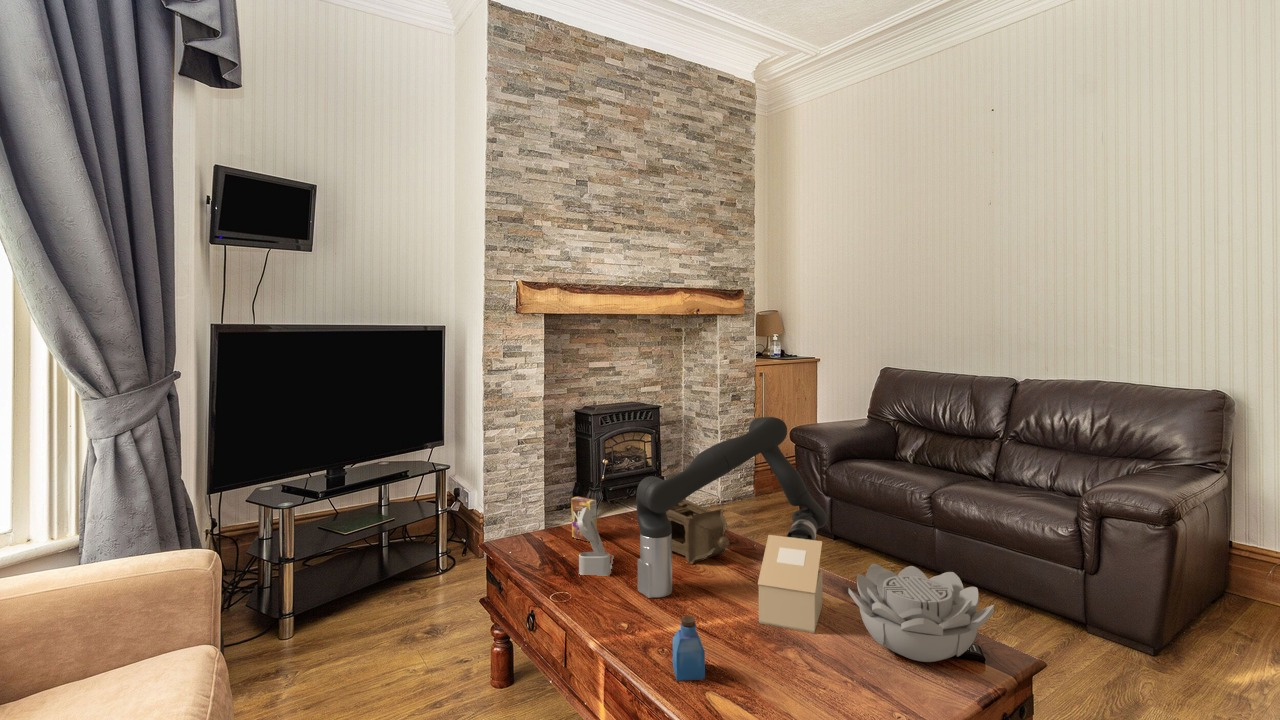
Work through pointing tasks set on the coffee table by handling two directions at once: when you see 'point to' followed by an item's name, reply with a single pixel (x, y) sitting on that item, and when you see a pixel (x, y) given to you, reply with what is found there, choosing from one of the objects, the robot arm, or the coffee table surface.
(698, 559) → the brown lantern
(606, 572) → the phone holder
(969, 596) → the decorative bowl
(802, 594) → the cardboard carton
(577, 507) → the candy box
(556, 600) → the coffee table surface
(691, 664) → the perfume bottle
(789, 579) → the lid flap
